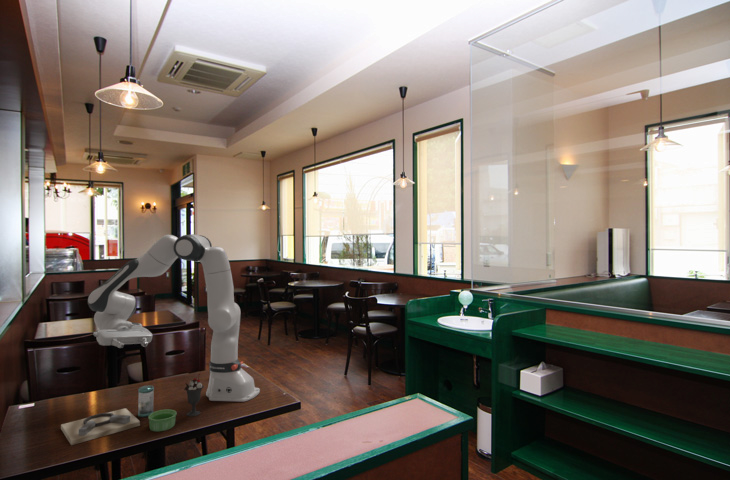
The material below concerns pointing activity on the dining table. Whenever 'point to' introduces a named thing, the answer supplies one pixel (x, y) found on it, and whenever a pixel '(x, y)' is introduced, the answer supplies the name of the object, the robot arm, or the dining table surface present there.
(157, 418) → the ramekin
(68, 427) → the board
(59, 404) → the dining table surface
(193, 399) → the sundae
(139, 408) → the teal-capped glass jar
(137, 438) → the dining table surface
